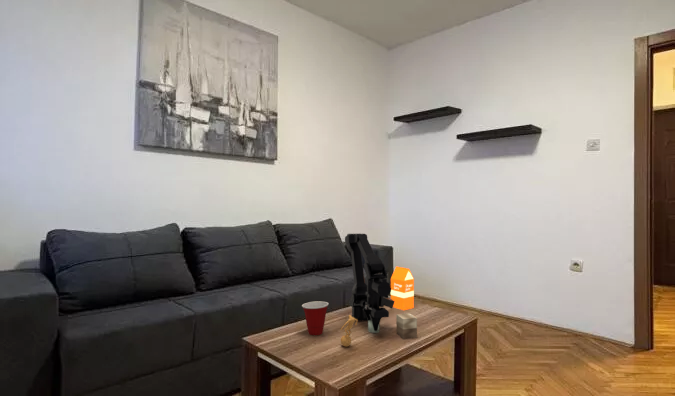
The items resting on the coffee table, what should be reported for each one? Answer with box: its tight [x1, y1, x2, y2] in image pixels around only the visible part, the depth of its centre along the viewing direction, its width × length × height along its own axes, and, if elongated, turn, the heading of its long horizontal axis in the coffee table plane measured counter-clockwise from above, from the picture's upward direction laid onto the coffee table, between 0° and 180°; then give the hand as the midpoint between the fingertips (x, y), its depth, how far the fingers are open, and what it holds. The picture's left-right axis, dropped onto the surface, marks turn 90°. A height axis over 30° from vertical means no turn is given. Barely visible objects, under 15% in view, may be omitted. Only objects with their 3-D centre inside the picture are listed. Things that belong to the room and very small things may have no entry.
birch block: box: [395, 312, 418, 329], centre depth 153 cm, size 6×6×4 cm
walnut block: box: [395, 325, 418, 340], centre depth 153 cm, size 6×6×4 cm
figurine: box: [340, 314, 359, 348], centre depth 140 cm, size 8×6×12 cm
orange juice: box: [390, 265, 415, 311], centre depth 193 cm, size 8×9×20 cm
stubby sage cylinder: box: [367, 320, 380, 334], centre depth 158 cm, size 5×5×4 cm
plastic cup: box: [301, 300, 329, 336], centre depth 155 cm, size 11×11×12 cm
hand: (373, 328), depth 158 cm, fingers closed on stubby sage cylinder, 5 cm apart
